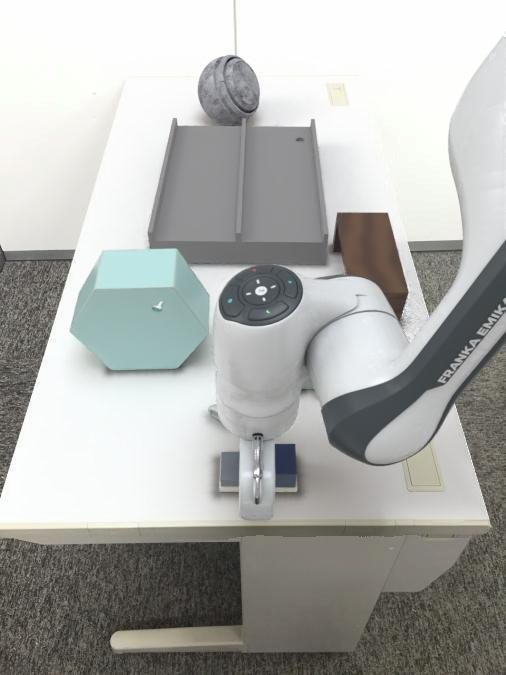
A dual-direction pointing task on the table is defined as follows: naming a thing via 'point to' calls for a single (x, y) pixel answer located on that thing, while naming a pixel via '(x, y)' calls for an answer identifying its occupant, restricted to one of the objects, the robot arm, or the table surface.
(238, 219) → the desk organizer
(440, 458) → the table surface
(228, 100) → the decorative orb
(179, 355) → the cyan faceted polyhedron
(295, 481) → the navy lidded box
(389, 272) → the brown wooden block
